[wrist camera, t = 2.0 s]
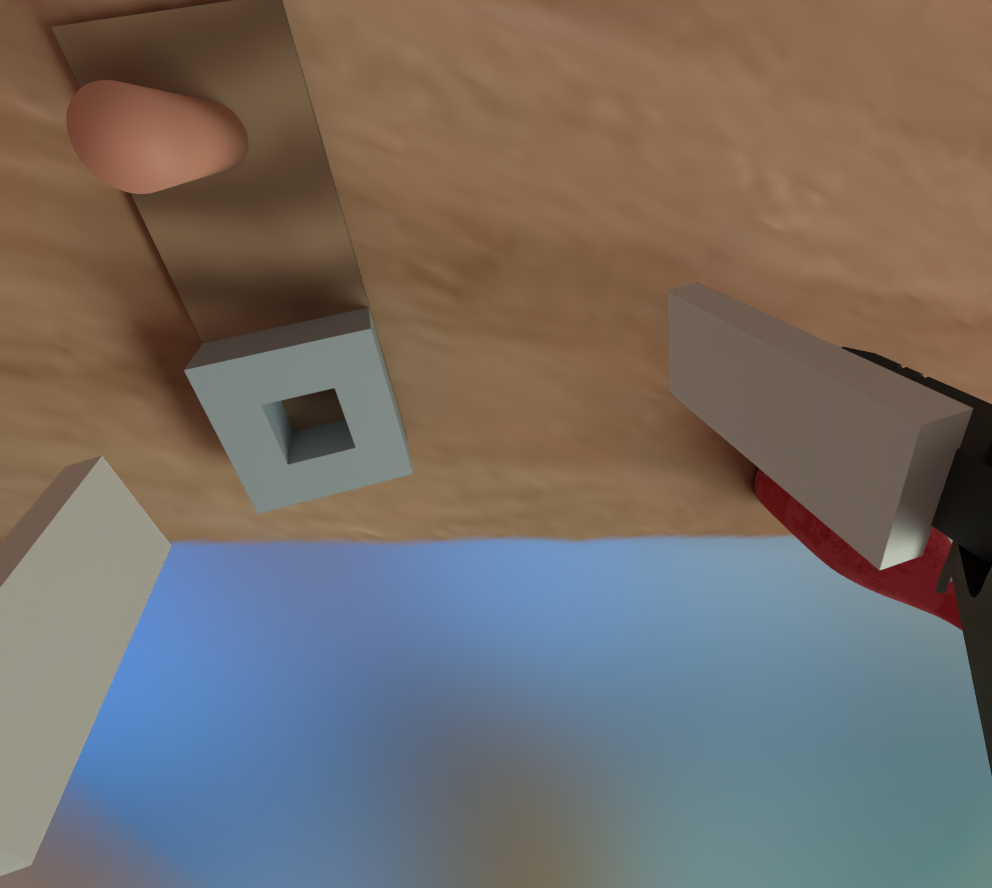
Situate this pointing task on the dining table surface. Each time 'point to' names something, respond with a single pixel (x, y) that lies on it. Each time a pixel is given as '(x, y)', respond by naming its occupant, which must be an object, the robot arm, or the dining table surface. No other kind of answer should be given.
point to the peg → (152, 136)
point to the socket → (295, 372)
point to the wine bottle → (898, 582)
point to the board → (238, 174)
